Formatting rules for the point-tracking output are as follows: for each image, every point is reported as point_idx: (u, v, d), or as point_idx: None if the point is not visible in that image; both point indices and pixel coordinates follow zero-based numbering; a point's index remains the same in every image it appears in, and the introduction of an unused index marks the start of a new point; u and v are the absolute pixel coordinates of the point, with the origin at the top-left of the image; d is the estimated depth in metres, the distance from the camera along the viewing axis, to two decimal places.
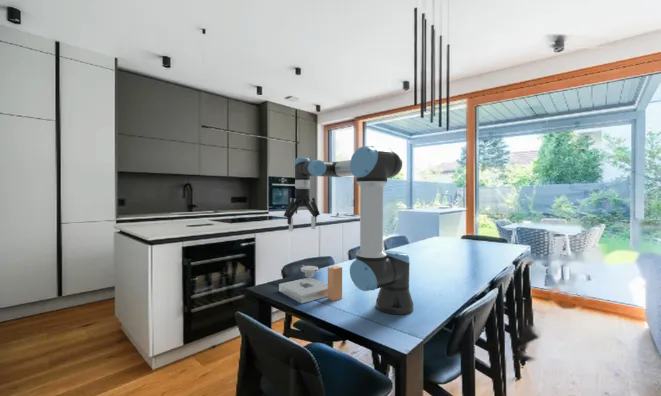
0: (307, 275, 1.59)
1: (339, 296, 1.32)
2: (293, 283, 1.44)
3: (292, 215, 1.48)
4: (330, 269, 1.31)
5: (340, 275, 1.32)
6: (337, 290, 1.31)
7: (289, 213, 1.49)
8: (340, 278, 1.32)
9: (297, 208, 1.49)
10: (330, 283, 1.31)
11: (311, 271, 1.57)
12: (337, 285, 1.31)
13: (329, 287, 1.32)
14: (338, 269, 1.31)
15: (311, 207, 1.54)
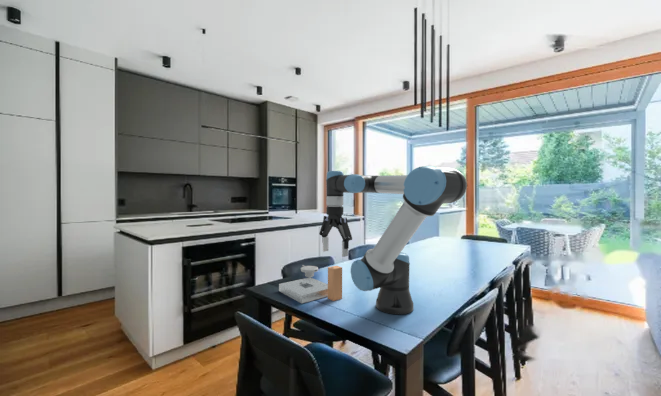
0: (307, 275, 1.59)
1: (339, 296, 1.32)
2: (293, 283, 1.44)
3: (323, 234, 1.37)
4: (330, 269, 1.31)
5: (340, 275, 1.32)
6: (337, 290, 1.31)
7: None
8: (340, 278, 1.32)
9: (327, 227, 1.34)
10: (330, 283, 1.31)
11: (311, 271, 1.57)
12: (337, 285, 1.31)
13: (329, 287, 1.32)
14: (338, 269, 1.31)
15: (339, 229, 1.28)
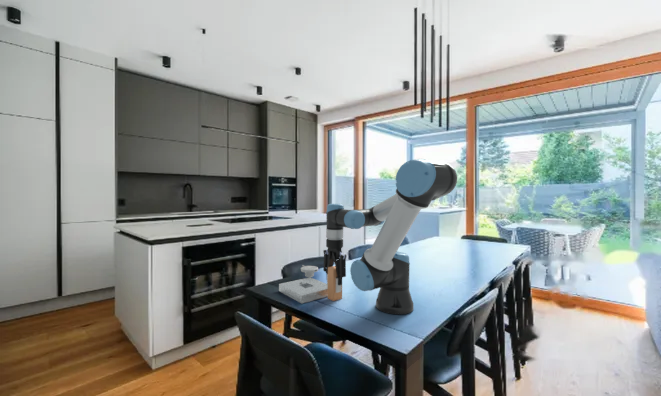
0: (307, 275, 1.59)
1: (339, 296, 1.32)
2: (293, 283, 1.44)
3: (327, 270, 1.35)
4: (330, 269, 1.31)
5: None
6: None
7: None
8: None
9: (329, 261, 1.34)
10: (330, 283, 1.31)
11: (311, 271, 1.57)
12: None
13: (329, 287, 1.32)
14: None
15: (336, 264, 1.30)
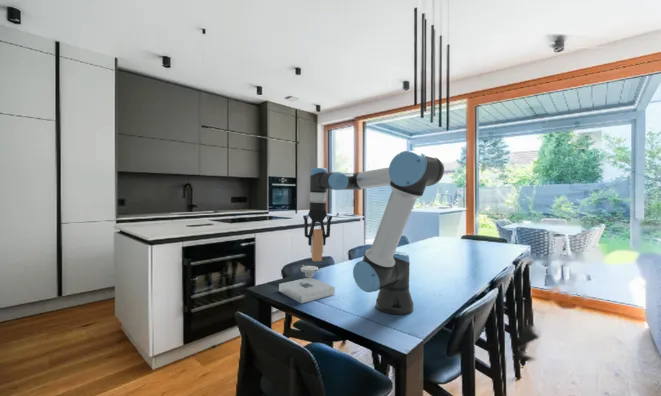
0: (307, 275, 1.59)
1: None
2: (293, 283, 1.44)
3: None
4: (318, 231, 1.35)
5: None
6: None
7: (309, 233, 1.37)
8: None
9: None
10: (317, 245, 1.35)
11: (311, 271, 1.57)
12: None
13: (315, 250, 1.35)
14: None
15: (323, 226, 1.36)
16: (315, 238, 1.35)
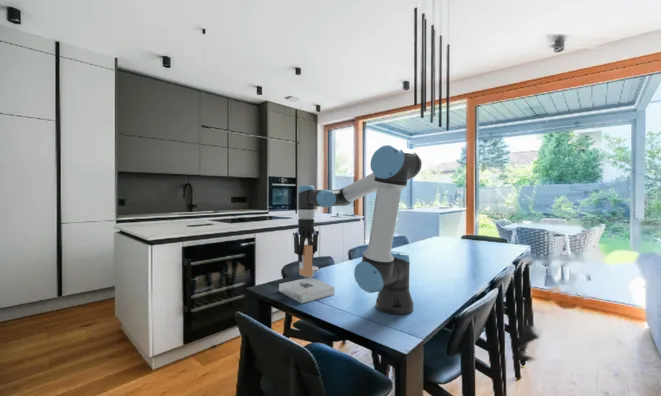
0: None
1: None
2: (293, 283, 1.44)
3: (302, 251, 1.37)
4: (308, 247, 1.38)
5: None
6: None
7: None
8: None
9: (304, 241, 1.38)
10: (308, 261, 1.38)
11: None
12: None
13: (307, 265, 1.38)
14: None
15: (312, 241, 1.41)
16: (306, 254, 1.37)
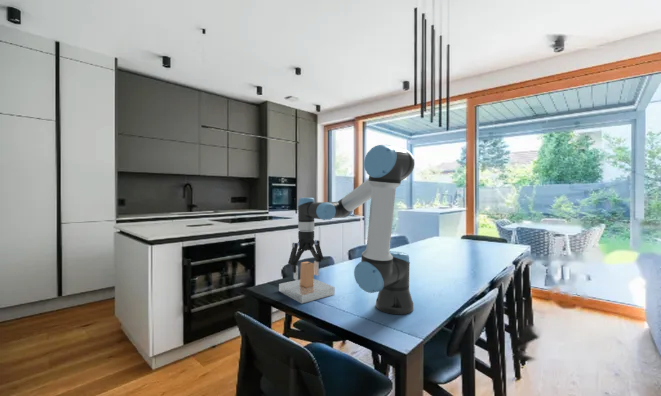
0: None
1: None
2: (293, 283, 1.44)
3: (297, 262, 1.35)
4: (310, 265, 1.38)
5: None
6: None
7: None
8: None
9: (301, 253, 1.37)
10: (309, 278, 1.38)
11: None
12: None
13: (308, 283, 1.38)
14: None
15: (315, 251, 1.42)
16: (308, 272, 1.38)
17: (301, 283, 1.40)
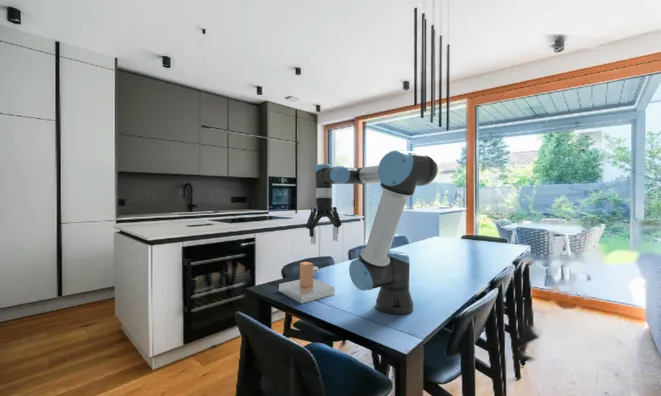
0: None
1: None
2: (293, 283, 1.44)
3: (314, 226, 1.36)
4: (309, 265, 1.38)
5: None
6: None
7: None
8: None
9: (319, 219, 1.38)
10: (309, 279, 1.38)
11: None
12: None
13: (308, 283, 1.38)
14: None
15: (333, 217, 1.43)
16: (307, 272, 1.37)
17: (300, 283, 1.40)
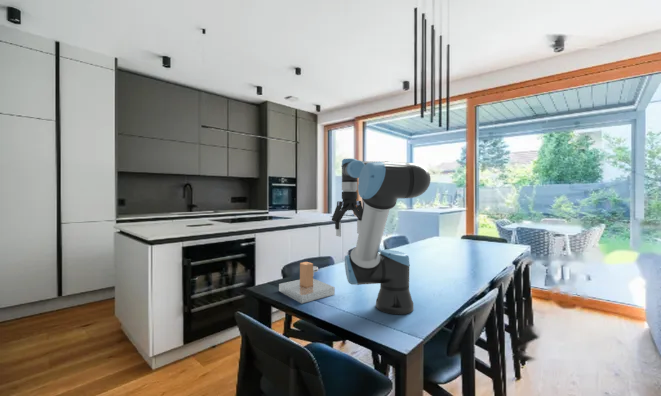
0: None
1: None
2: (293, 283, 1.44)
3: (340, 219, 1.39)
4: (309, 265, 1.38)
5: None
6: None
7: None
8: None
9: None
10: (309, 279, 1.38)
11: None
12: None
13: (308, 283, 1.38)
14: None
15: (358, 211, 1.46)
16: (307, 272, 1.37)
17: (300, 283, 1.40)
